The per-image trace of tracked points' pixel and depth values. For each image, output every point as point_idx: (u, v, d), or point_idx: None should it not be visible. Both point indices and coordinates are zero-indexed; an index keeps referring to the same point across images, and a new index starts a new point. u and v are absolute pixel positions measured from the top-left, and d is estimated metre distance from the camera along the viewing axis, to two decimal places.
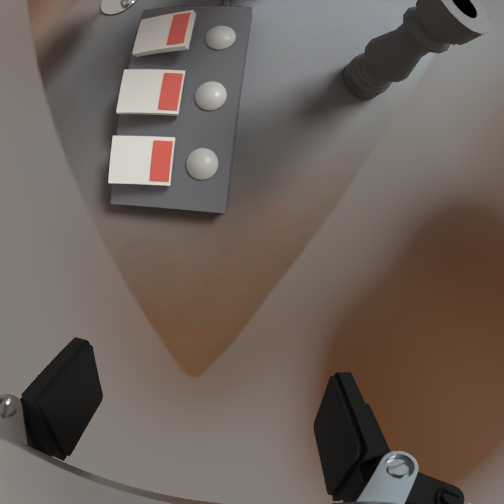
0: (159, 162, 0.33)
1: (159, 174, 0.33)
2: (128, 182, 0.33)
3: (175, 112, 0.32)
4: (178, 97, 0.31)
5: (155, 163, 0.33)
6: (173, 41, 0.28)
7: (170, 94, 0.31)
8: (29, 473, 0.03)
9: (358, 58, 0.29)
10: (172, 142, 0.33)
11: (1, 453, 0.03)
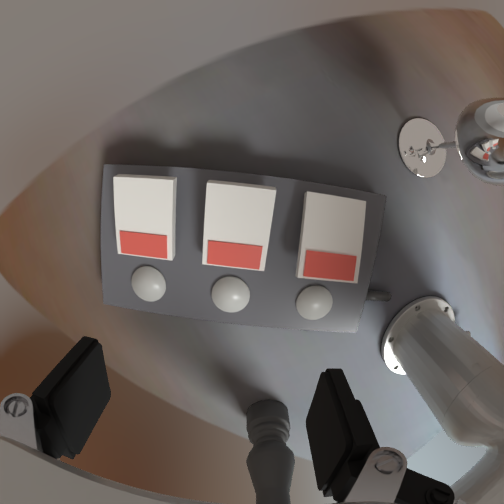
0: (140, 242, 0.27)
1: (127, 243, 0.27)
2: (115, 204, 0.25)
3: (204, 261, 0.28)
4: (224, 264, 0.28)
5: (139, 237, 0.27)
6: (309, 261, 0.26)
7: (230, 254, 0.28)
8: (30, 473, 0.03)
9: (279, 427, 0.33)
10: (165, 258, 0.28)
11: (1, 453, 0.03)
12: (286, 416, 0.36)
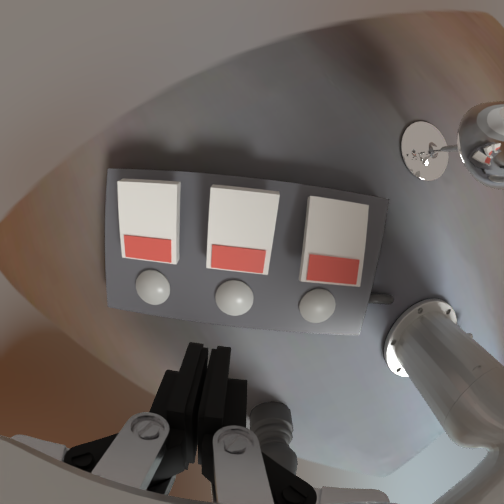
0: (144, 246, 0.27)
1: (131, 247, 0.27)
2: (119, 208, 0.26)
3: (208, 264, 0.28)
4: (228, 268, 0.28)
5: (144, 241, 0.27)
6: (312, 264, 0.27)
7: (233, 258, 0.28)
8: (30, 473, 0.03)
9: (282, 429, 0.33)
10: (170, 262, 0.28)
11: (1, 453, 0.03)
12: (289, 418, 0.36)
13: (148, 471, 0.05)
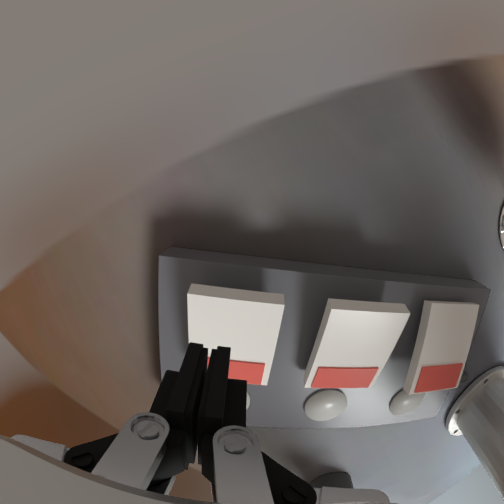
0: None
1: None
2: (190, 326, 0.19)
3: (307, 384, 0.21)
4: (331, 387, 0.21)
5: None
6: (422, 377, 0.19)
7: (339, 377, 0.21)
8: (29, 473, 0.03)
9: None
10: (259, 383, 0.21)
11: (1, 453, 0.03)
12: (351, 486, 0.29)
13: (148, 471, 0.05)
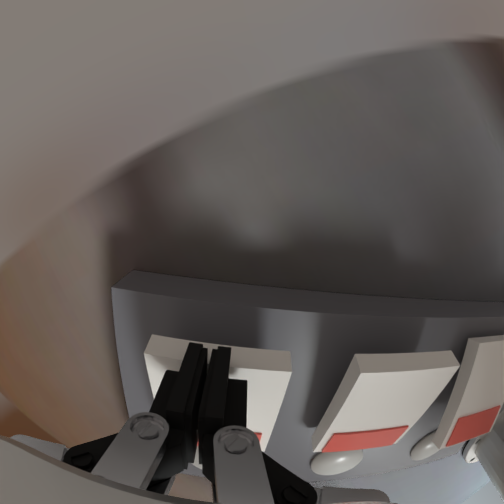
0: None
1: None
2: (155, 391, 0.12)
3: (317, 449, 0.14)
4: (347, 449, 0.14)
5: None
6: (457, 429, 0.13)
7: (359, 439, 0.14)
8: (30, 473, 0.03)
9: None
10: None
11: (1, 453, 0.03)
12: None
13: (148, 471, 0.05)
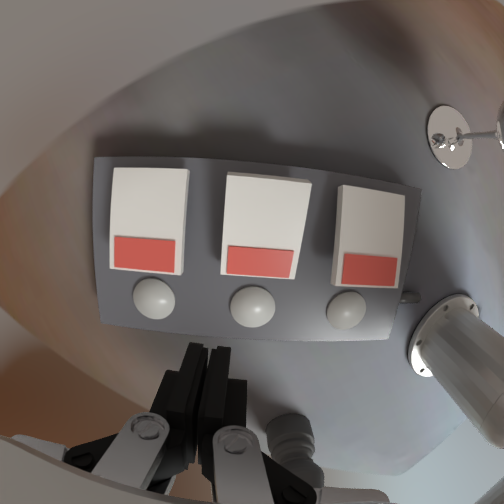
0: (140, 251, 0.21)
1: (123, 252, 0.21)
2: (112, 201, 0.21)
3: (223, 270, 0.23)
4: (247, 274, 0.23)
5: (140, 245, 0.21)
6: (347, 266, 0.22)
7: (254, 261, 0.23)
8: (30, 473, 0.03)
9: (305, 444, 0.29)
10: (172, 272, 0.22)
11: (1, 453, 0.03)
12: (310, 430, 0.32)
13: (148, 471, 0.05)
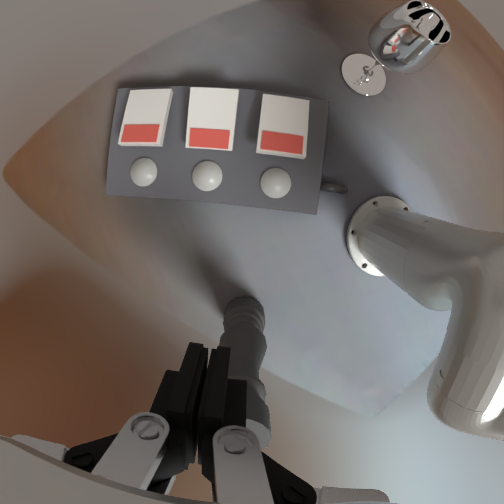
0: (138, 131, 0.33)
1: (128, 133, 0.33)
2: (127, 107, 0.33)
3: (187, 144, 0.35)
4: (202, 146, 0.35)
5: (138, 128, 0.33)
6: (264, 138, 0.33)
7: (206, 138, 0.34)
8: (29, 473, 0.03)
9: (252, 315, 0.40)
10: (155, 142, 0.33)
11: (1, 453, 0.03)
12: (260, 310, 0.43)
13: (148, 471, 0.05)
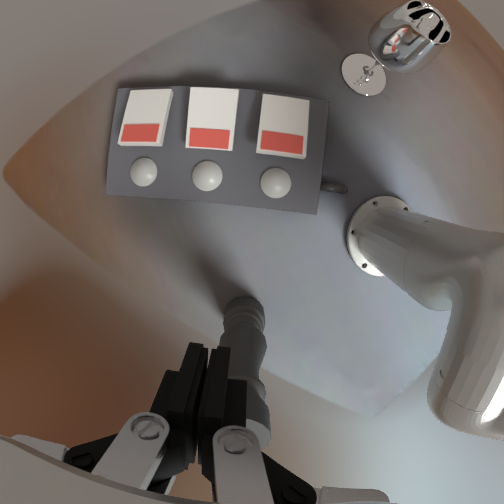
0: (138, 131, 0.33)
1: (128, 132, 0.33)
2: (127, 107, 0.33)
3: (187, 144, 0.35)
4: (202, 146, 0.35)
5: (138, 128, 0.33)
6: (264, 138, 0.33)
7: (206, 138, 0.34)
8: (30, 473, 0.03)
9: (252, 315, 0.40)
10: (155, 141, 0.33)
11: (1, 453, 0.03)
12: (261, 310, 0.43)
13: (148, 471, 0.05)
